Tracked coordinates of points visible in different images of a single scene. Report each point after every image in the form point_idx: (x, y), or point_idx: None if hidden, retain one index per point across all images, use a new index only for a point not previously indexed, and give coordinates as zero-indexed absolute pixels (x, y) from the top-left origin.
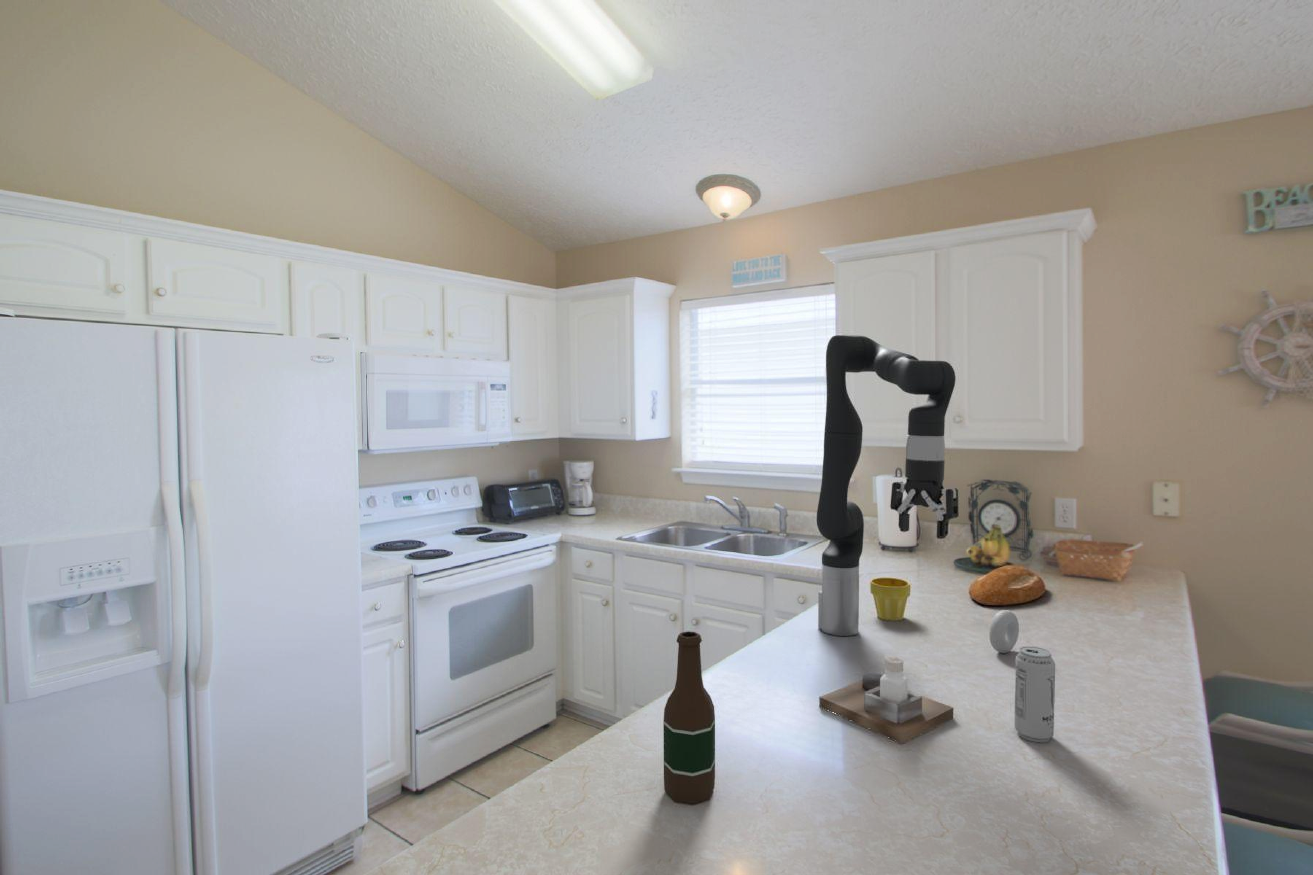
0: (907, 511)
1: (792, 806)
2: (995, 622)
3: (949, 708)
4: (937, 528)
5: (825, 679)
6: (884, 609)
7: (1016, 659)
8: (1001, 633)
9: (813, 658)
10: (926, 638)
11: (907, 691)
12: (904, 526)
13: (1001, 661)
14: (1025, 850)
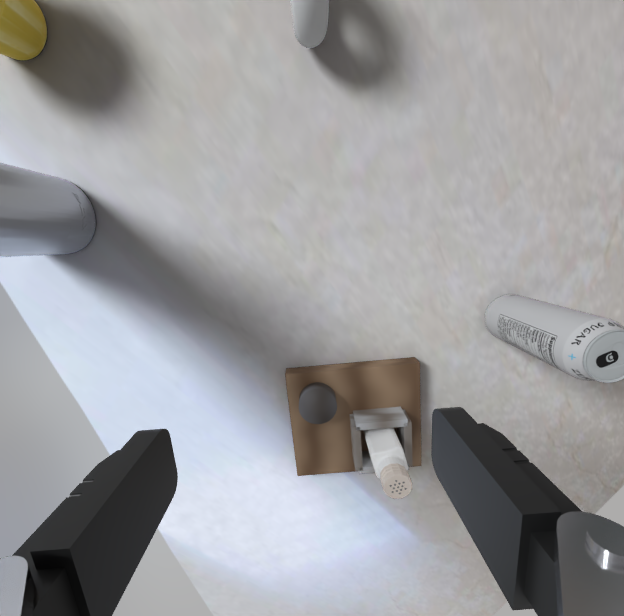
0: (40, 611)
1: (424, 598)
2: (310, 6)
3: (417, 369)
4: (473, 530)
5: (235, 402)
6: (9, 48)
7: (568, 372)
8: (326, 23)
9: (160, 361)
10: (171, 91)
11: (397, 437)
12: (158, 502)
13: (334, 77)
14: (581, 506)
